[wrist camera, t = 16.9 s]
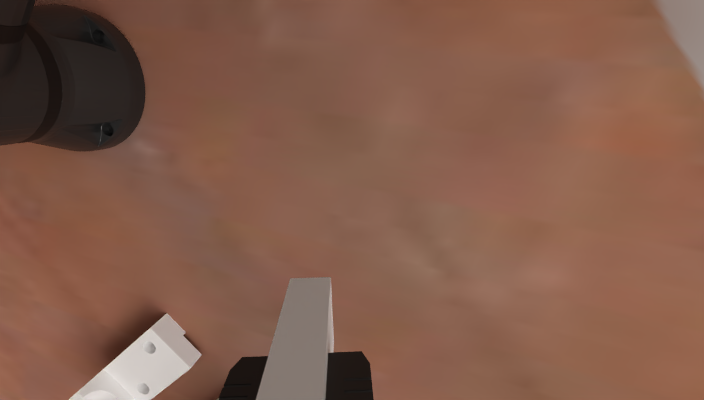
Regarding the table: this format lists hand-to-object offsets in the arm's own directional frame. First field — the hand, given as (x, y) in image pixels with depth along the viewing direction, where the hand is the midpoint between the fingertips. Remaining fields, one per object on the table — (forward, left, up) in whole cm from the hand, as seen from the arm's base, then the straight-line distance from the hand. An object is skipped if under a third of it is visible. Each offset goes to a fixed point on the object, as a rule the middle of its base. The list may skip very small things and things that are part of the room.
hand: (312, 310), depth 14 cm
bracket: (-28, -29, -28) cm, 48 cm away
